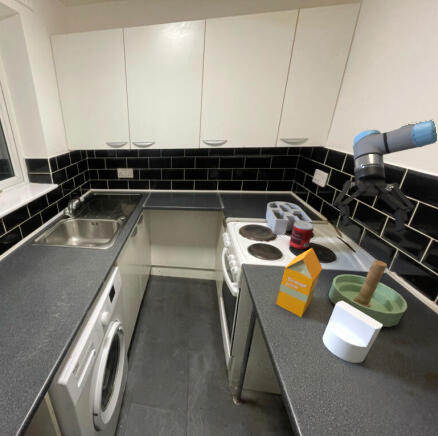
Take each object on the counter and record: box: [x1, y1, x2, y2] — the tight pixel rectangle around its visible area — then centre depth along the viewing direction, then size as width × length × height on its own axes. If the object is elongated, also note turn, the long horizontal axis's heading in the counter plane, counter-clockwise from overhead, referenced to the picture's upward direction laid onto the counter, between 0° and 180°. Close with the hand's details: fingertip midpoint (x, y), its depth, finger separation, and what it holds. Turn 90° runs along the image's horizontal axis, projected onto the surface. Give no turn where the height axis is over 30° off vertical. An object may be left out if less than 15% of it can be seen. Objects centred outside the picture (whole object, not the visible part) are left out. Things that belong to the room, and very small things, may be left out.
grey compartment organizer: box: [265, 201, 314, 236], centre depth 128 cm, size 17×28×9 cm, turn 165°
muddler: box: [354, 259, 388, 308], centre depth 71 cm, size 4×4×16 cm
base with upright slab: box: [322, 301, 384, 364], centre depth 60 cm, size 9×9×12 cm
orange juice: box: [275, 247, 323, 318], centre depth 72 cm, size 8×9×20 cm
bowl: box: [328, 274, 408, 328], centre depth 73 cm, size 17×17×6 cm
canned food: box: [289, 221, 315, 250], centre depth 107 cm, size 8×8×11 cm
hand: (372, 227), depth 74 cm, fingers open, 13 cm apart
